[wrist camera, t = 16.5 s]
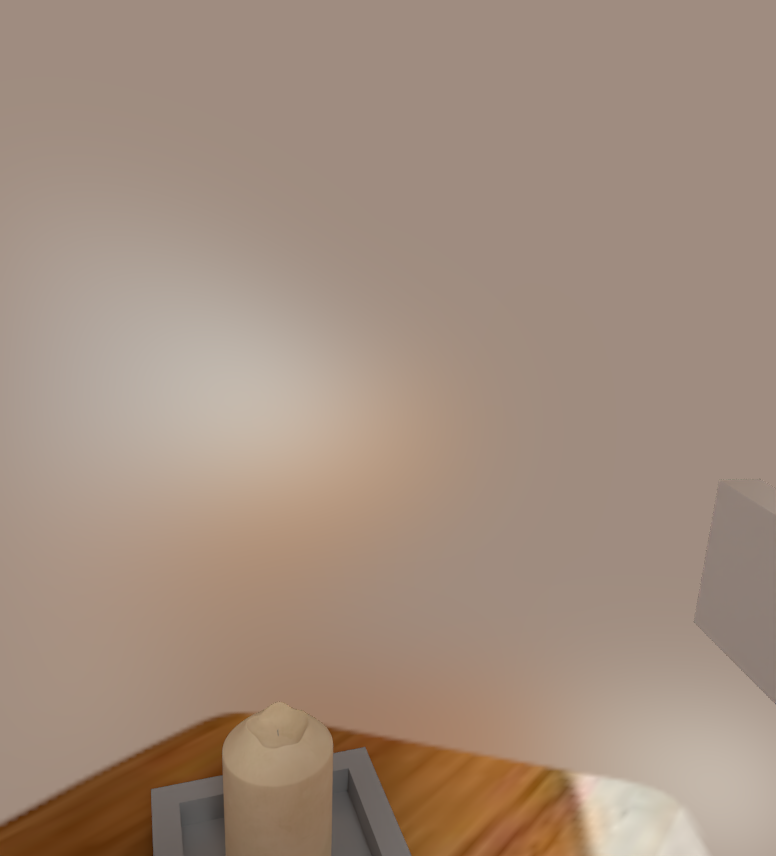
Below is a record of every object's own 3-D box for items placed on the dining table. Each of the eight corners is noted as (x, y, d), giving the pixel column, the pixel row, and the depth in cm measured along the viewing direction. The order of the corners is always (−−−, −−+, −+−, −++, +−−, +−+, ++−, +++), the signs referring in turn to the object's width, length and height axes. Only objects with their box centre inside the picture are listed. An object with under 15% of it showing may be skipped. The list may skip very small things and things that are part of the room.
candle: (220, 929, 37) (214, 763, 34) (232, 838, 42) (228, 687, 39) (331, 923, 37) (334, 758, 34) (330, 834, 43) (332, 685, 40)
